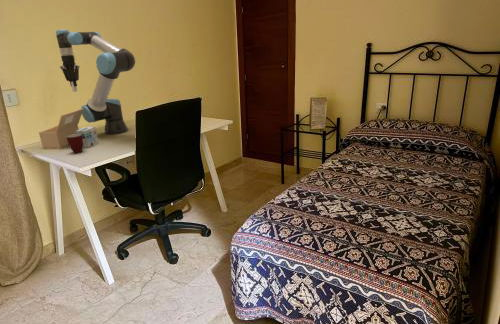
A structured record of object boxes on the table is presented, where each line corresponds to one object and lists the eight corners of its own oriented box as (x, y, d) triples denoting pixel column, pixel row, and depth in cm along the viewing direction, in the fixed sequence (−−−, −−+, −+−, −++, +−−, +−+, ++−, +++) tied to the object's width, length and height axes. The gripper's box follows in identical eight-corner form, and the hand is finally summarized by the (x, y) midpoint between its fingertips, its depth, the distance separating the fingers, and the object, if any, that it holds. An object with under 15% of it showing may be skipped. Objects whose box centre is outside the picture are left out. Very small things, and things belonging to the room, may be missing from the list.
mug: (73, 149, 207) (69, 133, 203) (87, 148, 208) (84, 132, 205) (68, 154, 197) (64, 138, 194) (83, 153, 199) (80, 136, 195)
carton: (80, 139, 229) (77, 124, 225) (60, 148, 210) (56, 132, 207) (64, 139, 231) (61, 124, 227) (42, 148, 212) (38, 132, 209)
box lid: (77, 123, 225) (78, 124, 225) (56, 131, 207) (57, 132, 207) (82, 108, 220) (83, 108, 220) (61, 115, 202) (62, 115, 202)
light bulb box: (88, 148, 208) (84, 130, 205) (78, 147, 210) (74, 130, 206) (99, 142, 218) (95, 126, 214) (89, 142, 220) (86, 126, 216)
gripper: (54, 55, 222) (62, 92, 230) (72, 55, 220) (80, 92, 228) (62, 55, 229) (70, 90, 237) (79, 54, 227) (87, 90, 235)
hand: (75, 91), depth 233 cm, fingers closed
